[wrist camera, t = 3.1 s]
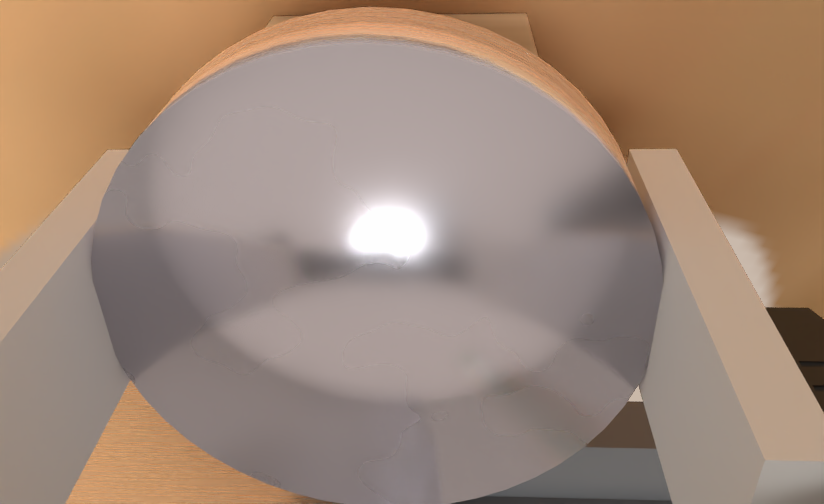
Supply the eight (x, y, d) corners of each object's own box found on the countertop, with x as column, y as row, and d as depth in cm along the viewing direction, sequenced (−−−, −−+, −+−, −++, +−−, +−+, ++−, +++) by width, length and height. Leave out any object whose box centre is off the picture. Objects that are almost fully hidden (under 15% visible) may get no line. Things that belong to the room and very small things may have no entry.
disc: (680, 2, 10) (714, 41, 8) (609, 442, 14) (624, 513, 13) (73, 10, 10) (15, 48, 9) (185, 433, 15) (156, 501, 13)
